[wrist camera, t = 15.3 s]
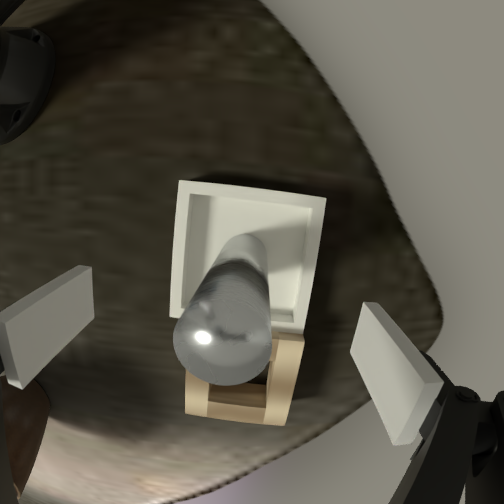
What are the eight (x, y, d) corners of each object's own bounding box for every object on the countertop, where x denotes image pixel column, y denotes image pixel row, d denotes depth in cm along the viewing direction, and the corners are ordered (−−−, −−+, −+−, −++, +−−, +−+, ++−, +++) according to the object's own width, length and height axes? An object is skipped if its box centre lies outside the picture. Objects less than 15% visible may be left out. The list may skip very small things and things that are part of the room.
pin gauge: (223, 231, 27) (174, 292, 12) (270, 237, 27) (279, 306, 12) (219, 275, 28) (172, 377, 13) (264, 281, 28) (264, 390, 13)
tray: (186, 180, 27) (179, 180, 25) (320, 196, 27) (326, 198, 25) (176, 306, 30) (169, 316, 28) (299, 322, 30) (302, 334, 27)
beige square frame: (196, 309, 30) (187, 327, 26) (299, 322, 30) (304, 341, 26) (192, 390, 32) (185, 413, 28) (282, 402, 32) (284, 425, 28)
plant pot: (62, 445, 36) (19, 510, 21) (-5, 389, 35) (-58, 440, 19) (81, 396, 33) (20, 477, 18) (0, 329, 32) (-74, 382, 16)
